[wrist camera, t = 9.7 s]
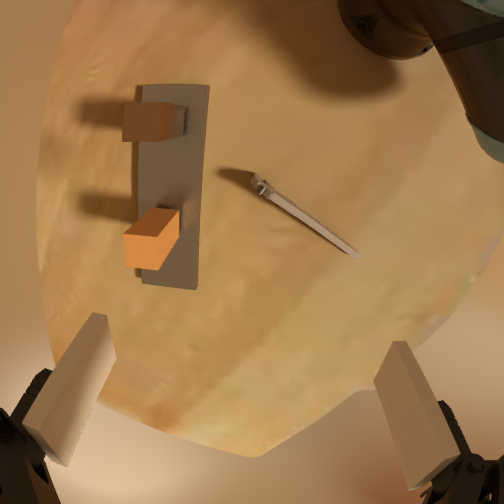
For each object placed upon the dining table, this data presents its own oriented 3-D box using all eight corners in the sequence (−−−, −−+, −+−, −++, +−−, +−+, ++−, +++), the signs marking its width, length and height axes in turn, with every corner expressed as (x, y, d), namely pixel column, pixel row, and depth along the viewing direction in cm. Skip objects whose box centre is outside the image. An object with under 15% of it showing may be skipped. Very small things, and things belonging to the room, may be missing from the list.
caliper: (250, 178, 41) (249, 187, 36) (255, 172, 41) (254, 180, 35) (355, 258, 46) (368, 277, 40) (360, 253, 46) (373, 271, 40)
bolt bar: (210, 86, 36) (189, 72, 24) (197, 285, 48) (181, 335, 37) (146, 86, 36) (105, 76, 24) (144, 278, 48) (116, 325, 36)
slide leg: (180, 208, 41) (157, 237, 31) (179, 235, 43) (158, 270, 33) (153, 206, 41) (123, 233, 31) (153, 233, 42) (125, 266, 33)
